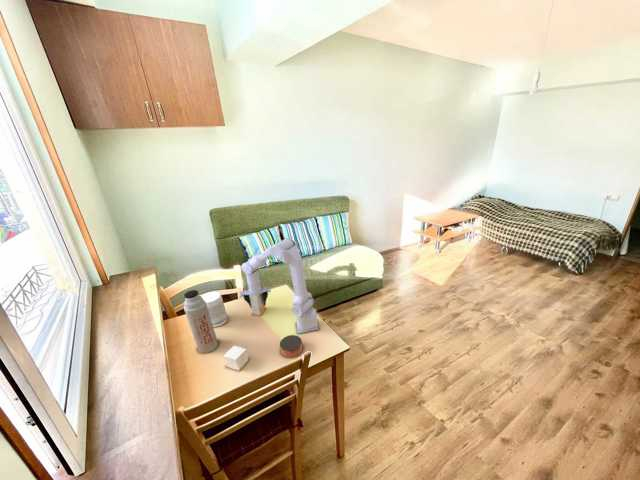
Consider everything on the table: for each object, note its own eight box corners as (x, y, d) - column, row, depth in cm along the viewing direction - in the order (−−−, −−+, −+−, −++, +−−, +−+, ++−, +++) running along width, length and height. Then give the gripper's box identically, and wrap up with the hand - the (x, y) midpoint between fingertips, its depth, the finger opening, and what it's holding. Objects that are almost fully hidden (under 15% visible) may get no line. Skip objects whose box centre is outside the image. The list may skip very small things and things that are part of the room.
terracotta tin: (300, 340, 125) (300, 333, 123) (304, 354, 117) (303, 347, 115) (280, 344, 123) (279, 337, 121) (281, 359, 115) (280, 352, 113)
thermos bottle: (218, 348, 121) (202, 295, 108) (198, 355, 117) (179, 301, 104) (217, 337, 127) (201, 285, 114) (197, 343, 124) (179, 290, 111)
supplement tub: (231, 316, 140) (225, 292, 133) (220, 328, 132) (213, 303, 125) (214, 314, 142) (207, 290, 135) (202, 326, 134) (194, 301, 127)
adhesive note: (238, 370, 110) (235, 359, 107) (226, 366, 112) (223, 355, 109) (248, 359, 115) (246, 348, 112) (236, 355, 117) (234, 345, 114)
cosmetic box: (260, 315, 141) (256, 296, 135) (252, 314, 142) (248, 295, 136) (265, 308, 146) (262, 289, 140) (258, 307, 147) (254, 288, 141)
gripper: (268, 276, 141) (272, 298, 147) (238, 281, 137) (243, 303, 144) (269, 283, 135) (273, 306, 141) (237, 288, 131) (243, 311, 138)
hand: (258, 305), depth 142 cm, fingers closed on cosmetic box, 6 cm apart
